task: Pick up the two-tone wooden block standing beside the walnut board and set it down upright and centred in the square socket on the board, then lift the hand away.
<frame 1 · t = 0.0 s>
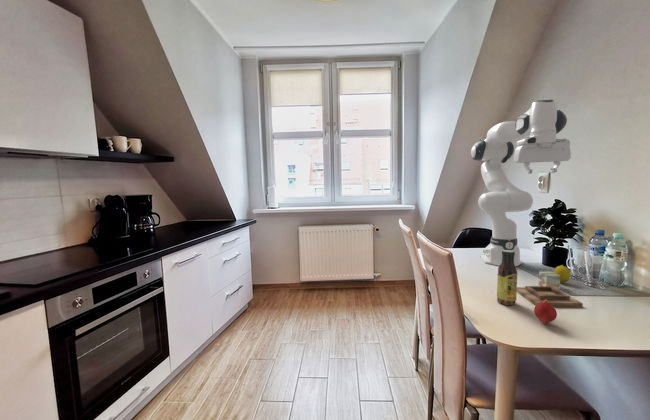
hand: (541, 173, 121), 48 cm above the table, tool pointing down, fingers open, 8 cm apart
sauce bottle: (506, 303, 109), on the table
block: (548, 287, 121), on the table
socket board: (546, 298, 111), on the table
lemon: (561, 283, 125), on the table
onion: (544, 324, 93), on the table
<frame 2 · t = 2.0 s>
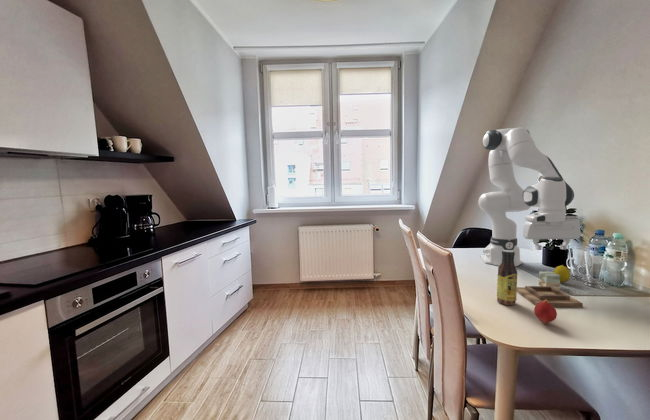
hand: (550, 249, 119), 16 cm above the table, tool pointing down, fingers open, 8 cm apart
nothing on the table moved.
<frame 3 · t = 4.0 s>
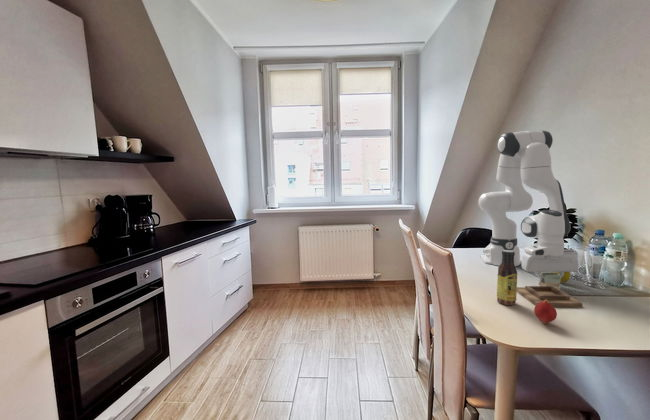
hand: (548, 281, 121), 2 cm above the table, tool pointing down, fingers closed on block, 5 cm apart
block: (548, 287, 121), on the table, touching gripper
everything else where it was.
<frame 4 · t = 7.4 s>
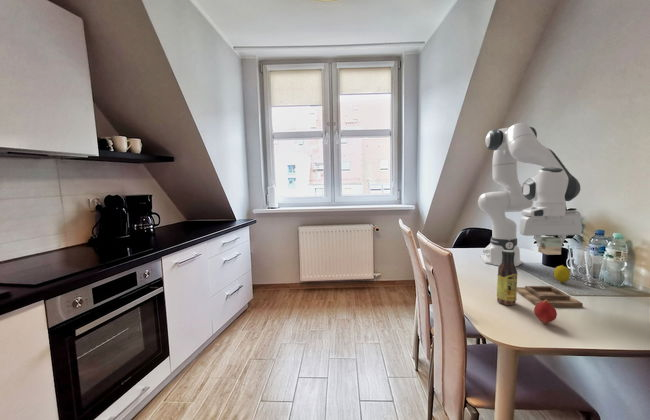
hand: (549, 246, 110), 20 cm above the table, tool pointing down, fingers closed on block, 5 cm apart
block: (549, 253, 110), point 18 cm above the table, touching gripper
everything else where it was.
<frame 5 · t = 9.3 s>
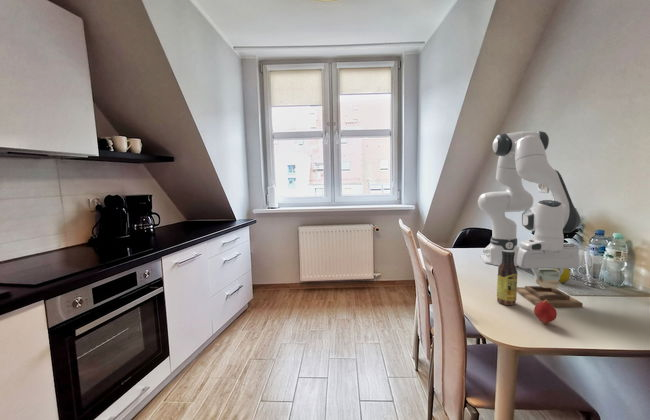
hand: (546, 279, 110), 8 cm above the table, tool pointing down, fingers closed on block, 5 cm apart
block: (546, 285, 110), point 5 cm above the table, touching gripper
everything else where it was.
when the fingers open (4 cm above the table, at t = 10.7 s): block stays where it is, resting on socket board.
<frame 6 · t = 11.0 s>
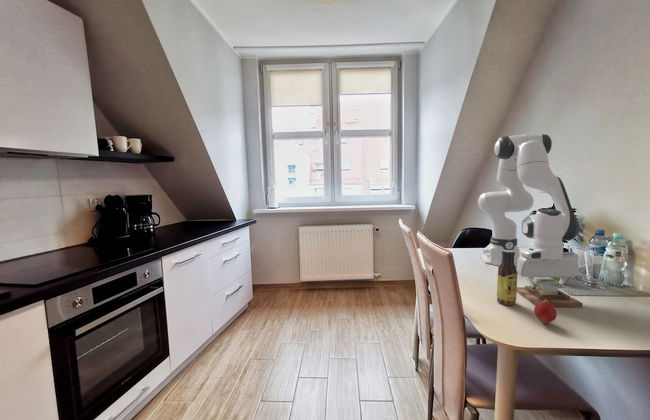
hand: (546, 287, 110), 4 cm above the table, tool pointing down, fingers open, 8 cm apart
block: (546, 294, 110), point 1 cm above the table, touching socket board
everything else where it was.
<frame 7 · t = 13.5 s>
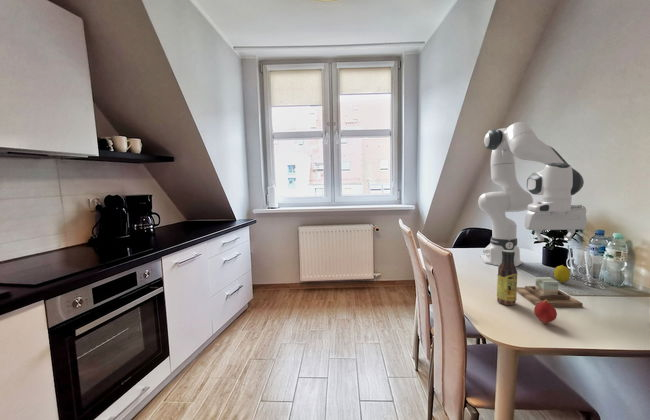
hand: (553, 240, 112), 22 cm above the table, tool pointing down, fingers open, 8 cm apart
nothing on the table moved.
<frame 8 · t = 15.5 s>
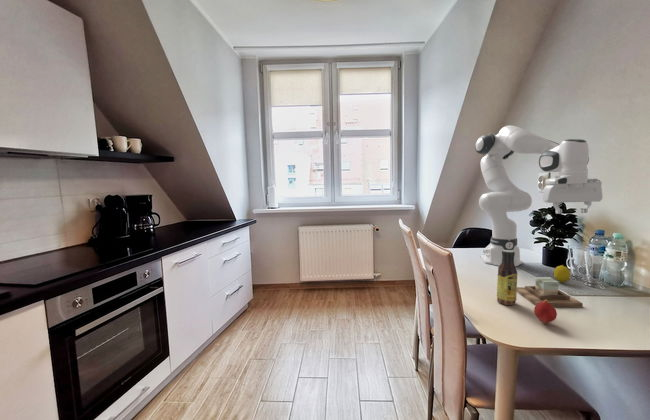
hand: (571, 213, 118), 31 cm above the table, tool pointing down, fingers open, 8 cm apart
nothing on the table moved.
at the end: block 0.0 cm off-centre on the socket board, point 1.5 cm above the socket board's base; block tilted 0°; the gripper is holding nothing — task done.
